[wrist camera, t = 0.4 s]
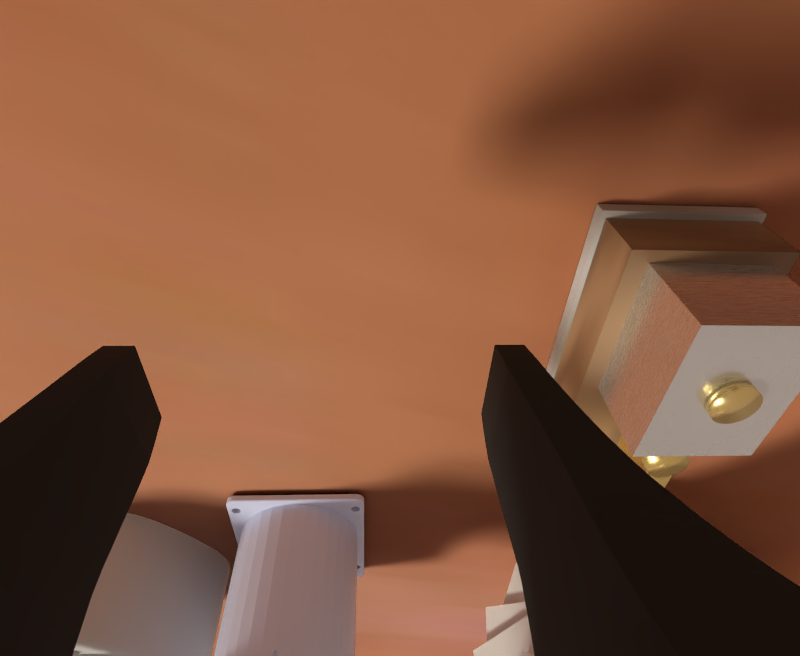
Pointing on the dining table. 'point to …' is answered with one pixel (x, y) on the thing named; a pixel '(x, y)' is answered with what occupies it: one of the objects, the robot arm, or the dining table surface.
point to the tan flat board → (623, 271)
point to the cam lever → (657, 464)
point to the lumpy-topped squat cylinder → (155, 595)
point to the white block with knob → (705, 359)
